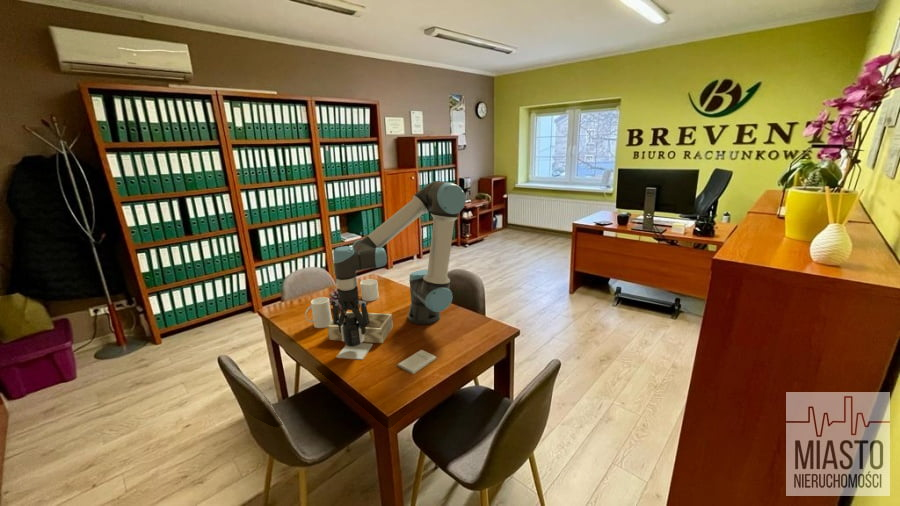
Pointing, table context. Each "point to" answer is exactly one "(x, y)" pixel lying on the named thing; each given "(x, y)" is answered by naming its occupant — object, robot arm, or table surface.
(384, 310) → the table surface
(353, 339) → the supplement bottle
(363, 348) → the pad
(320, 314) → the mug
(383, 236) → the robot arm
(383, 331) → the crate
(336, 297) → the purple spiky ball
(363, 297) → the mug
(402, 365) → the external hard drive
